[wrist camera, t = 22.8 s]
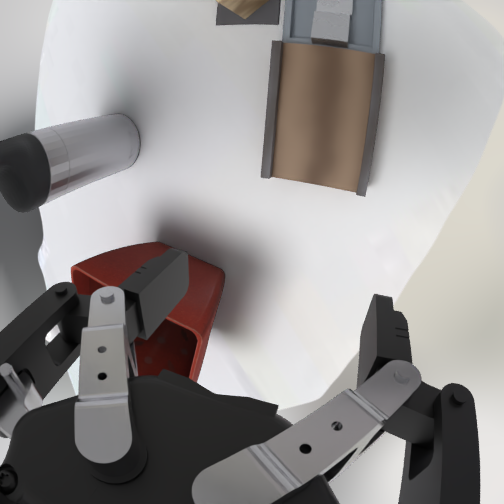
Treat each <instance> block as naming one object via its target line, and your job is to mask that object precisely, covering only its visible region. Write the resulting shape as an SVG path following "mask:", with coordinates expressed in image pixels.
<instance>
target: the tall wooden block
mask: <svg viewBox="0 0 504 504" xmlns="http://www.w3.org/2000/svg"><path fill="white" fill-rule="evenodd" d="M216 1H217V2H218V3H220V4H221V5H223V6H225V7H226V8H228V9H229V10H231V11H233V12H234V13H236V14H237V15H239V16H240V17H242V18H243V19H246V18H248V17H249V16H250V15H251V14H252V13H254V12H255V11H256V10H257V9H259V8H260V7H261V6H262V5H264V4H265V3H266V2H267V1H269V0H216Z"/></svg>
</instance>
